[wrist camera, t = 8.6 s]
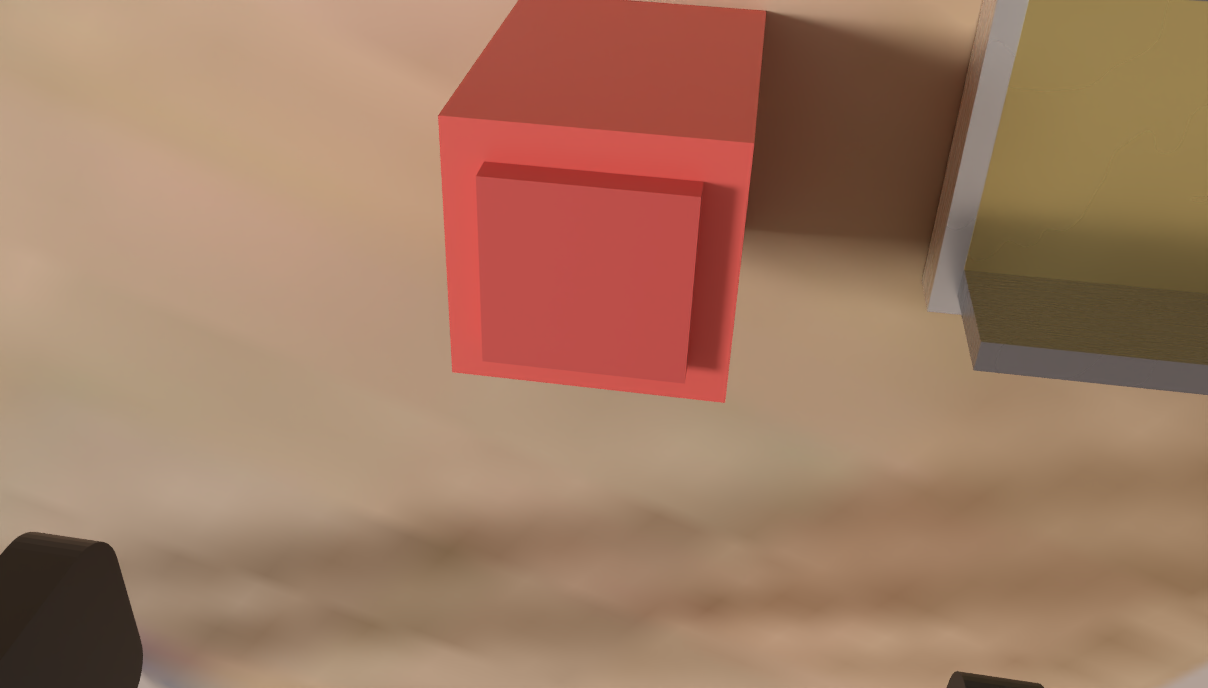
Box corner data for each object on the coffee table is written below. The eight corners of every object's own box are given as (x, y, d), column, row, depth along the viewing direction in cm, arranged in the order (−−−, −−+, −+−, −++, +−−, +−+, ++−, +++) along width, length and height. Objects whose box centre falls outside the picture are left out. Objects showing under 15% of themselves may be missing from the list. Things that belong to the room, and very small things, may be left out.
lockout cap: (741, 229, 23) (723, 421, 18) (526, 208, 24) (444, 389, 18) (766, 10, 21) (753, 158, 15) (524, -8, 21) (428, 129, 16)
